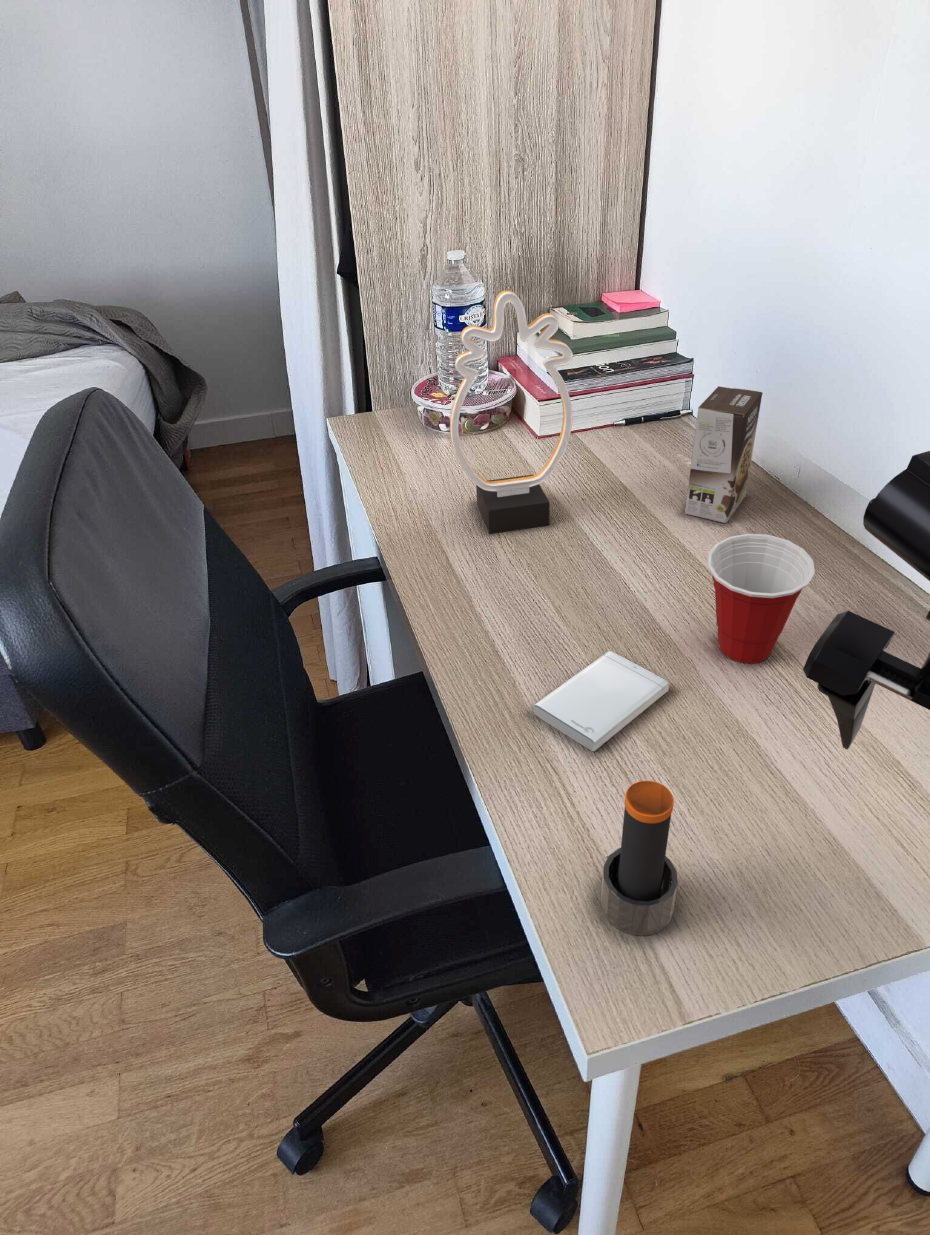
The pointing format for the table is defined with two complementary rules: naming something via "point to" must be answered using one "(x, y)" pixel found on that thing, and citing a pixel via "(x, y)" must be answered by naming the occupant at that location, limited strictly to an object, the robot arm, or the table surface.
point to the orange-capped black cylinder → (644, 840)
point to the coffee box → (722, 452)
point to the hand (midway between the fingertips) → (908, 777)
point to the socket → (632, 913)
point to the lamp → (523, 496)
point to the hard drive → (601, 700)
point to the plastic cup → (755, 591)
